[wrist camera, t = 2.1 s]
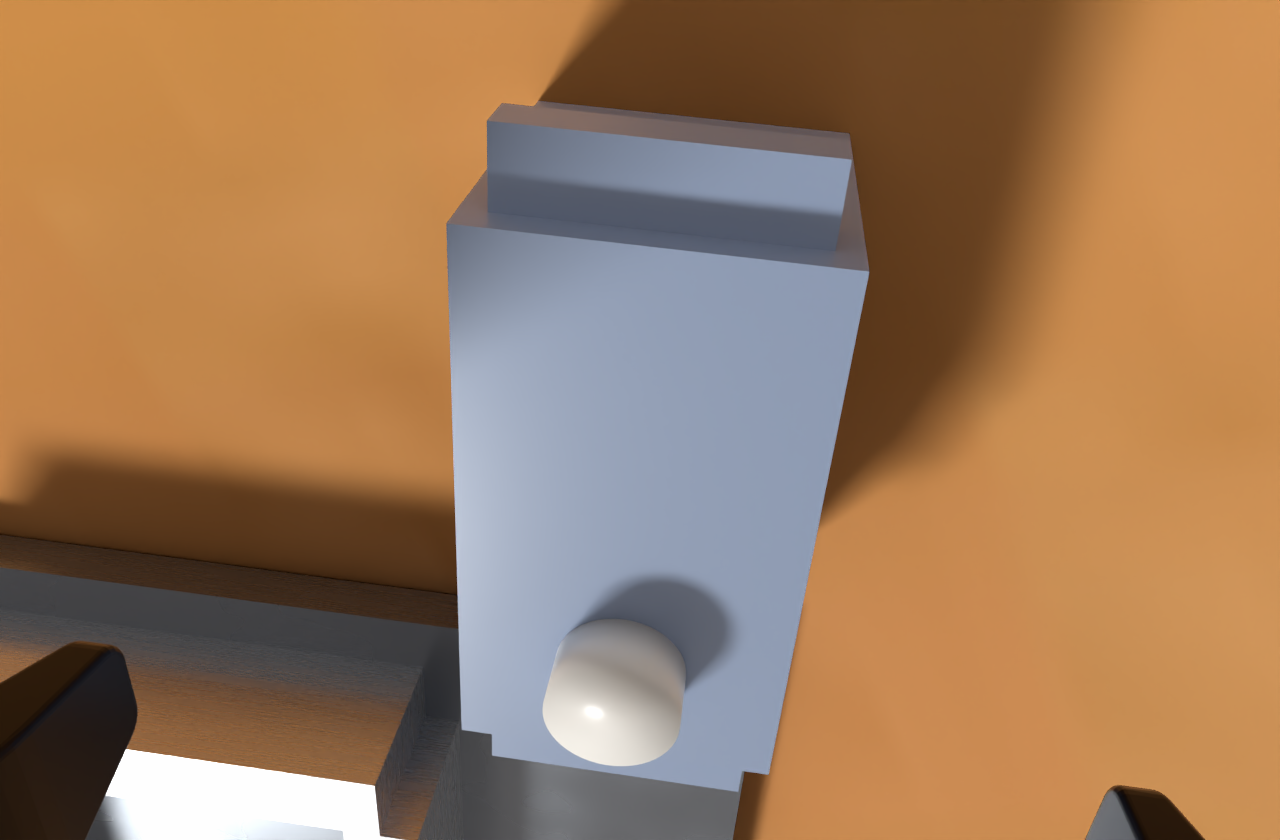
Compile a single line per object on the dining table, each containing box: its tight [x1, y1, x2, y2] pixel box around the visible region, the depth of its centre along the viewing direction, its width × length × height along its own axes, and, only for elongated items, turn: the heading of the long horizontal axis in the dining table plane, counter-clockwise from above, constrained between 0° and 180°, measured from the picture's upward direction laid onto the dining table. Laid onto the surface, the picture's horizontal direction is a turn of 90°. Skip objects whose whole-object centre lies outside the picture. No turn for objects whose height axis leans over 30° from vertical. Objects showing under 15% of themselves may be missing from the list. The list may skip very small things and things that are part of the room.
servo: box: [446, 101, 869, 792], centre depth 13 cm, size 4×9×5 cm, turn 176°
